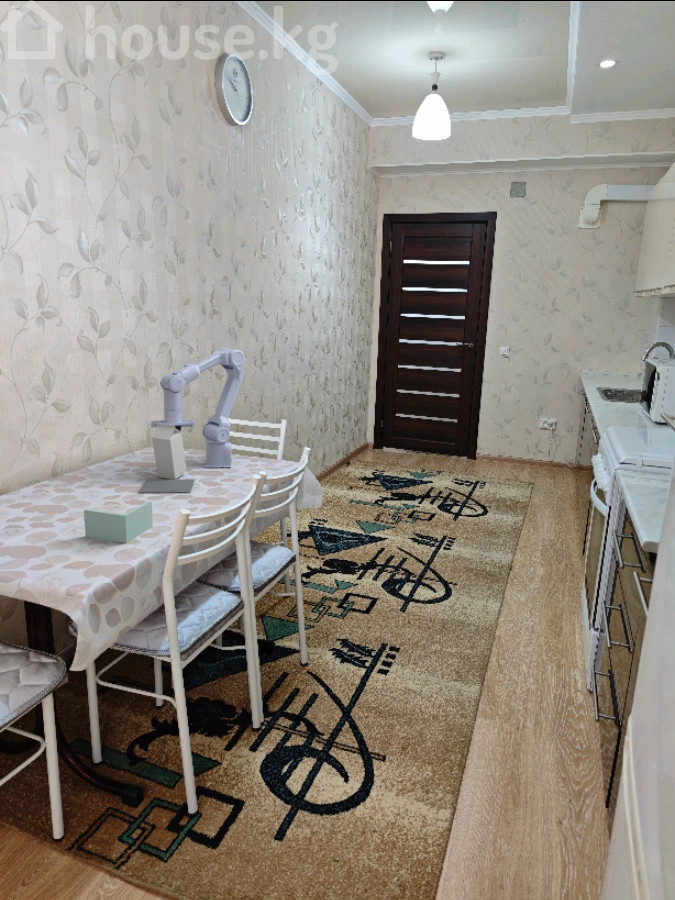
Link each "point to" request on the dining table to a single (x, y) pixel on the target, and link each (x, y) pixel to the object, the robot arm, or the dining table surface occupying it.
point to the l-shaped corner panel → (118, 523)
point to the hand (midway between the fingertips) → (173, 447)
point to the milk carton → (168, 451)
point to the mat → (167, 486)
